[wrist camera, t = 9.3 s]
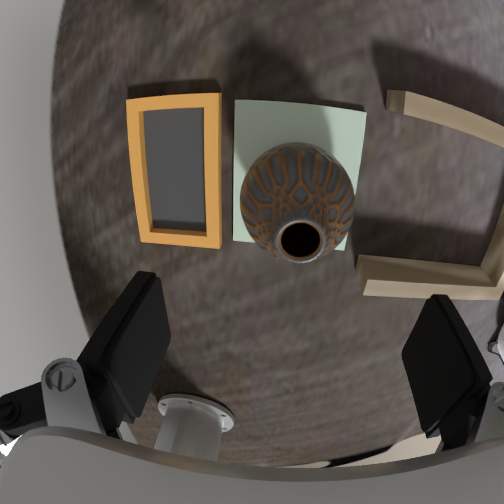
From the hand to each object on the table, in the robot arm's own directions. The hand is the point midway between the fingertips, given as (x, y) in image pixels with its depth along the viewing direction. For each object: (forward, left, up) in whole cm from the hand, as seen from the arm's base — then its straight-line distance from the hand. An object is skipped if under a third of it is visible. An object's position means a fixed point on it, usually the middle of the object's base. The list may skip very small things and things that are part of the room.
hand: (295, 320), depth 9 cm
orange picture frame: (+1, +9, -14) cm, 16 cm away
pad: (+1, 0, -14) cm, 14 cm away
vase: (0, 0, -13) cm, 13 cm away
